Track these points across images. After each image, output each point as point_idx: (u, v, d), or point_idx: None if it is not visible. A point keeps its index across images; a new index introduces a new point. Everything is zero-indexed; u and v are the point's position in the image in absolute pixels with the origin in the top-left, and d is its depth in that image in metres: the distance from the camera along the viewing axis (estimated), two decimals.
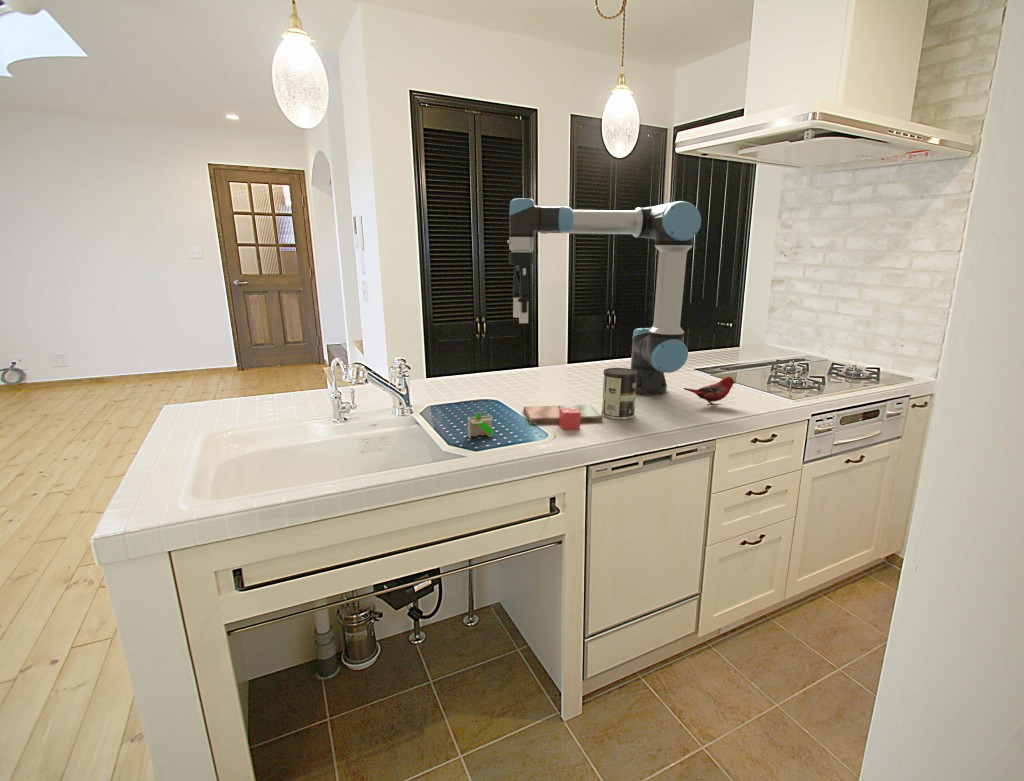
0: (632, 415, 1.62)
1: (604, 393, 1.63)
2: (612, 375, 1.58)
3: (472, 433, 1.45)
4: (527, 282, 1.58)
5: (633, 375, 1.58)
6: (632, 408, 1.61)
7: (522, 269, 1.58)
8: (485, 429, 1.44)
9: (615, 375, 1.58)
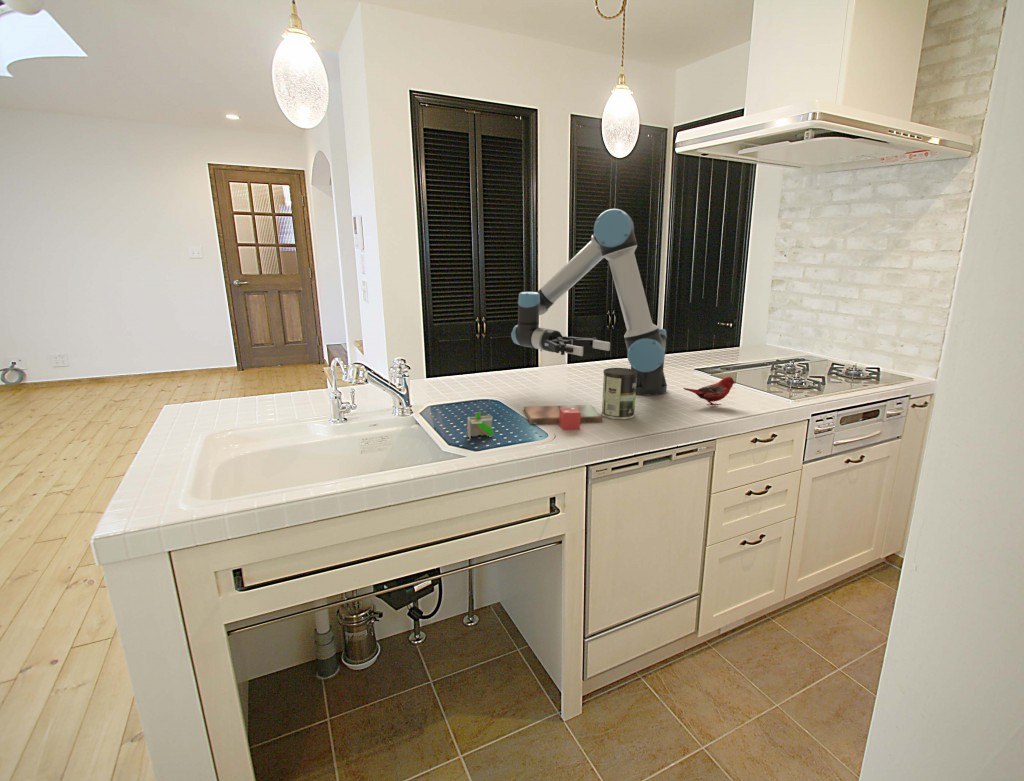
0: (632, 415, 1.62)
1: (604, 393, 1.63)
2: (612, 375, 1.58)
3: (472, 433, 1.45)
4: (550, 343, 1.71)
5: (633, 375, 1.58)
6: (632, 408, 1.61)
7: (544, 345, 1.75)
8: (484, 429, 1.44)
9: (615, 375, 1.58)
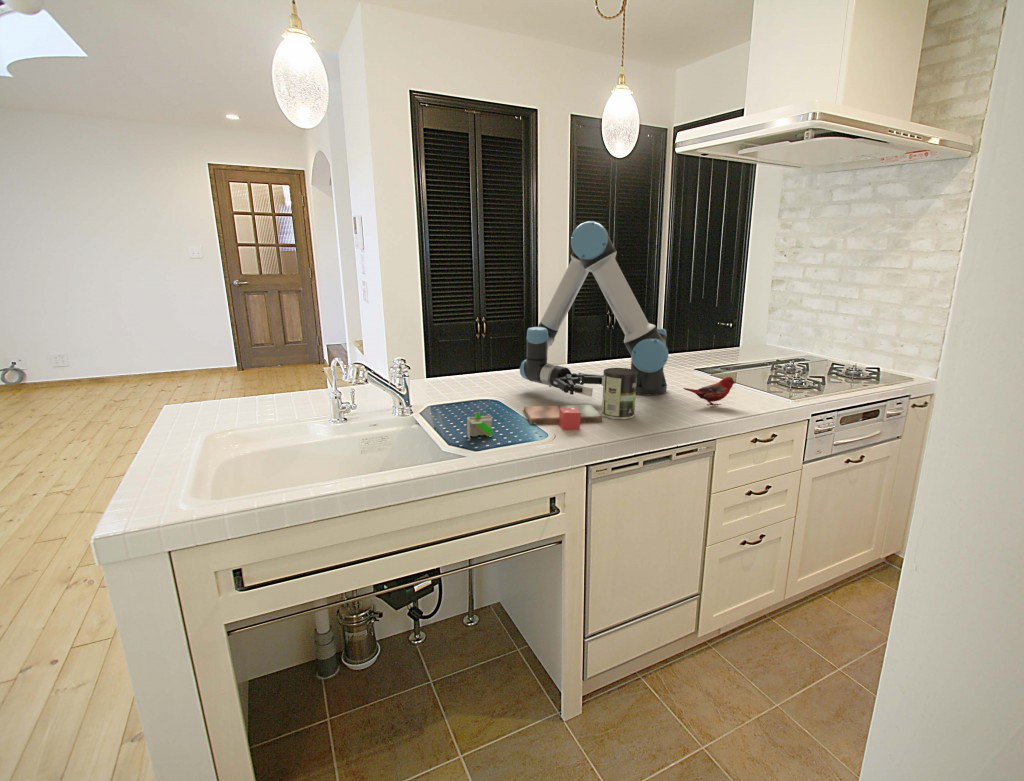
0: (632, 415, 1.62)
1: (604, 393, 1.63)
2: (612, 375, 1.58)
3: (471, 433, 1.45)
4: (559, 382, 1.70)
5: (633, 375, 1.58)
6: (632, 408, 1.61)
7: (553, 383, 1.74)
8: (484, 429, 1.44)
9: (615, 375, 1.58)
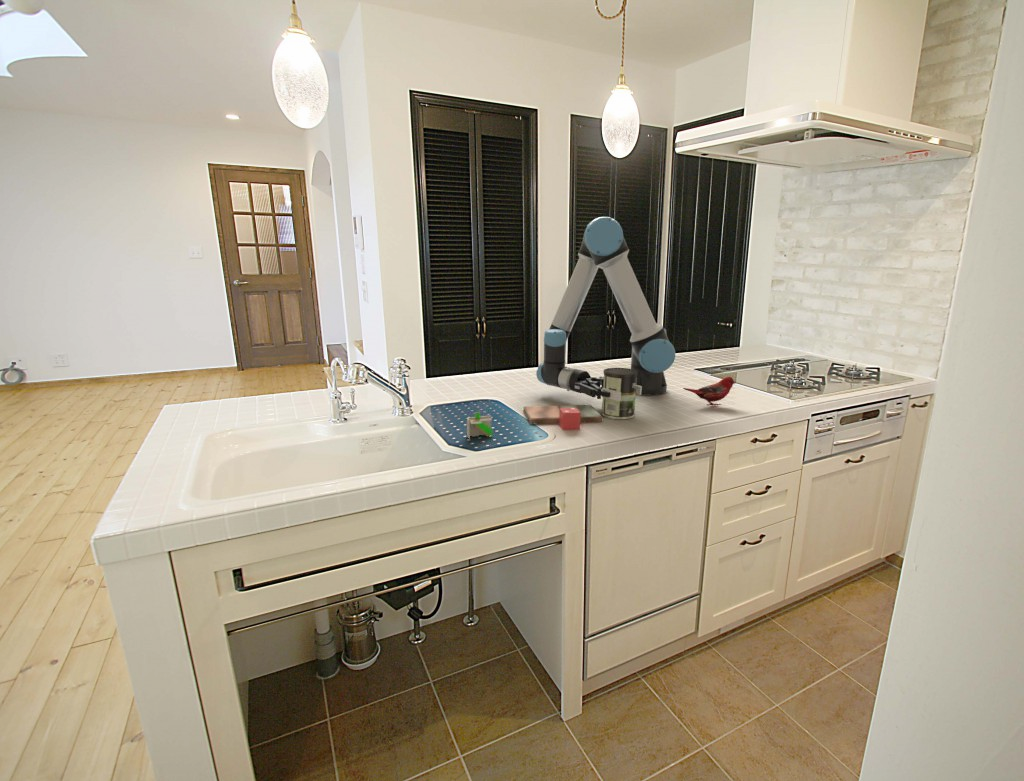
0: (632, 415, 1.62)
1: None
2: (612, 375, 1.58)
3: (471, 433, 1.45)
4: (583, 387, 1.65)
5: (633, 375, 1.58)
6: (632, 408, 1.61)
7: (575, 388, 1.68)
8: (484, 430, 1.44)
9: (615, 375, 1.58)
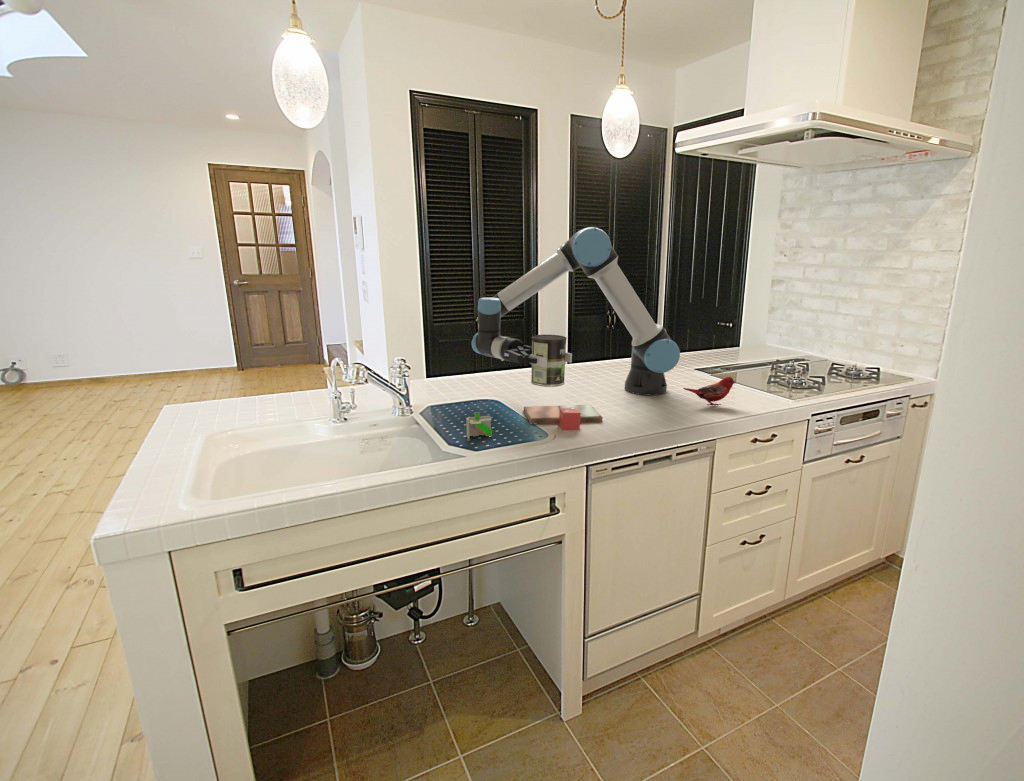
0: (561, 383, 1.57)
1: None
2: (539, 340, 1.53)
3: (471, 433, 1.45)
4: (511, 354, 1.59)
5: (560, 340, 1.53)
6: (560, 375, 1.56)
7: (504, 356, 1.62)
8: (483, 430, 1.44)
9: (541, 340, 1.52)
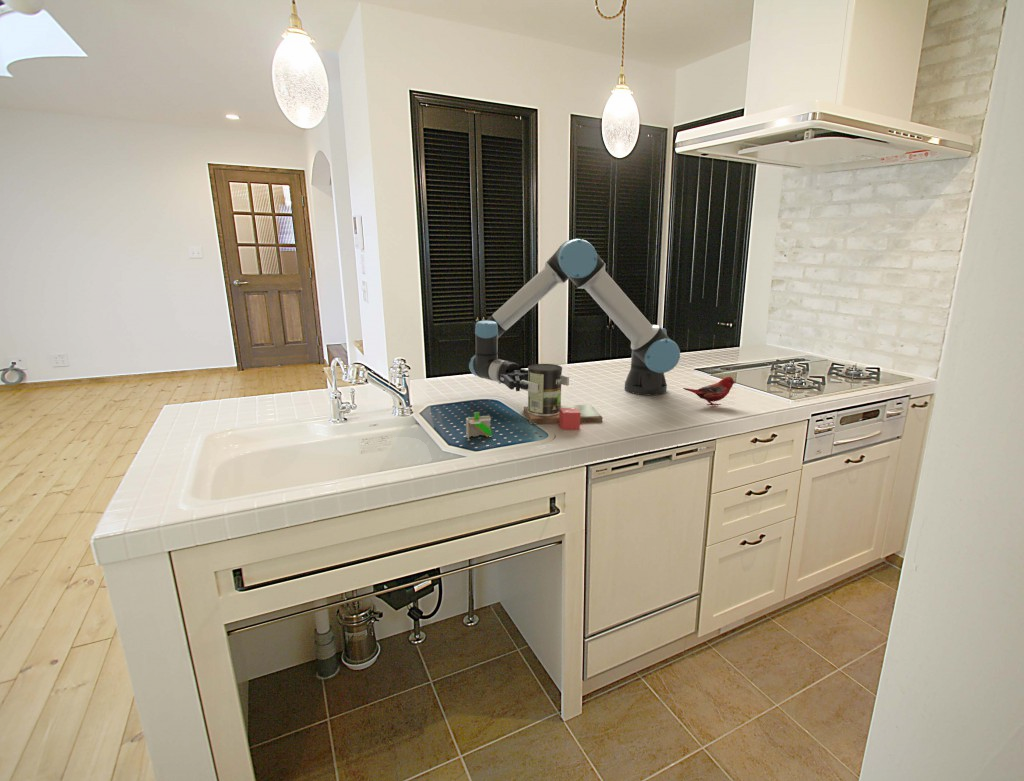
0: (557, 412, 1.59)
1: None
2: (535, 371, 1.55)
3: (470, 433, 1.45)
4: (505, 378, 1.61)
5: (556, 371, 1.55)
6: (556, 405, 1.58)
7: (500, 380, 1.65)
8: (483, 430, 1.44)
9: (537, 371, 1.54)
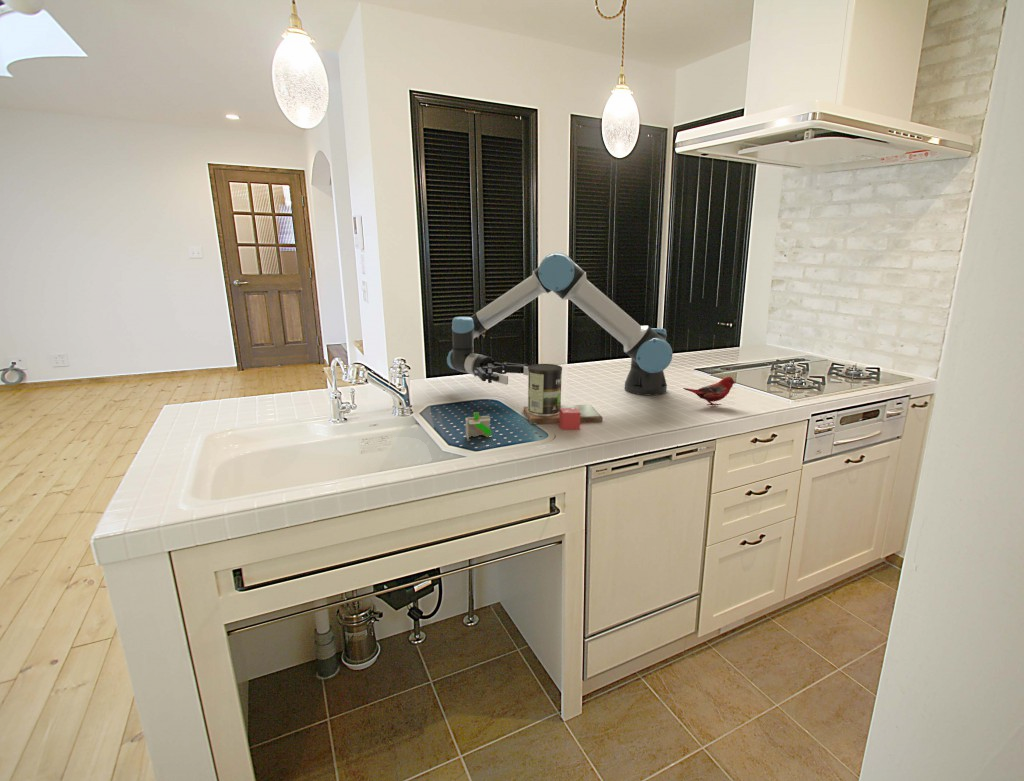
0: (557, 412, 1.59)
1: (528, 390, 1.59)
2: (535, 371, 1.55)
3: (470, 433, 1.45)
4: (478, 371, 1.70)
5: (556, 371, 1.55)
6: (556, 405, 1.58)
7: (474, 372, 1.74)
8: (483, 430, 1.44)
9: (537, 371, 1.54)
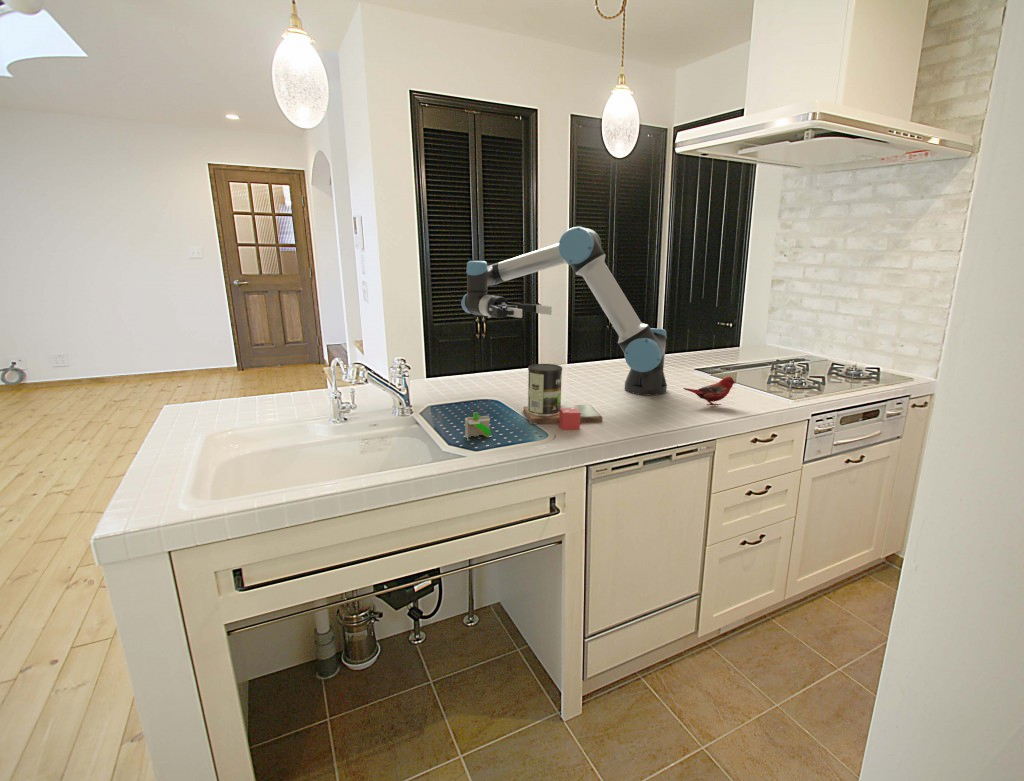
0: (557, 412, 1.59)
1: (529, 389, 1.59)
2: (535, 371, 1.55)
3: (469, 434, 1.45)
4: (493, 307, 1.77)
5: (556, 371, 1.55)
6: (556, 405, 1.58)
7: (489, 310, 1.80)
8: (482, 430, 1.44)
9: (537, 371, 1.54)
